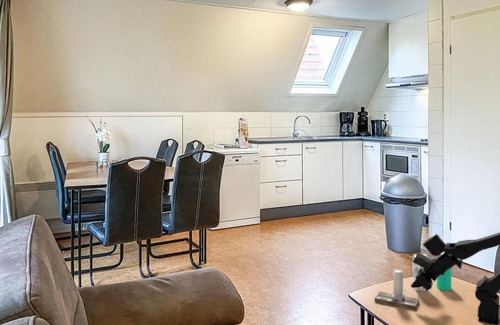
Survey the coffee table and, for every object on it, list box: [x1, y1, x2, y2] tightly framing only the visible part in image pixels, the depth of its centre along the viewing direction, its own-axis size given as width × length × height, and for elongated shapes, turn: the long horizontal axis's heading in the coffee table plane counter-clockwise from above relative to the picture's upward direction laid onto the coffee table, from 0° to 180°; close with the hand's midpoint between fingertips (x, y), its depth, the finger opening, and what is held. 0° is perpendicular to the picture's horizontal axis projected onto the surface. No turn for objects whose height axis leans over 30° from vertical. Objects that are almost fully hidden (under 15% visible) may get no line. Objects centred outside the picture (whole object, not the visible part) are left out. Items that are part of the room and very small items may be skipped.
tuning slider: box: [392, 269, 406, 301], centre depth 174 cm, size 4×6×11 cm, turn 148°
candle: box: [436, 267, 453, 291], centre depth 189 cm, size 6×6×12 cm
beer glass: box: [411, 253, 430, 292], centre depth 188 cm, size 7×7×15 cm
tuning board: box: [374, 291, 420, 310], centre depth 176 cm, size 16×8×2 cm, turn 58°
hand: (411, 286), depth 172 cm, fingers closed
